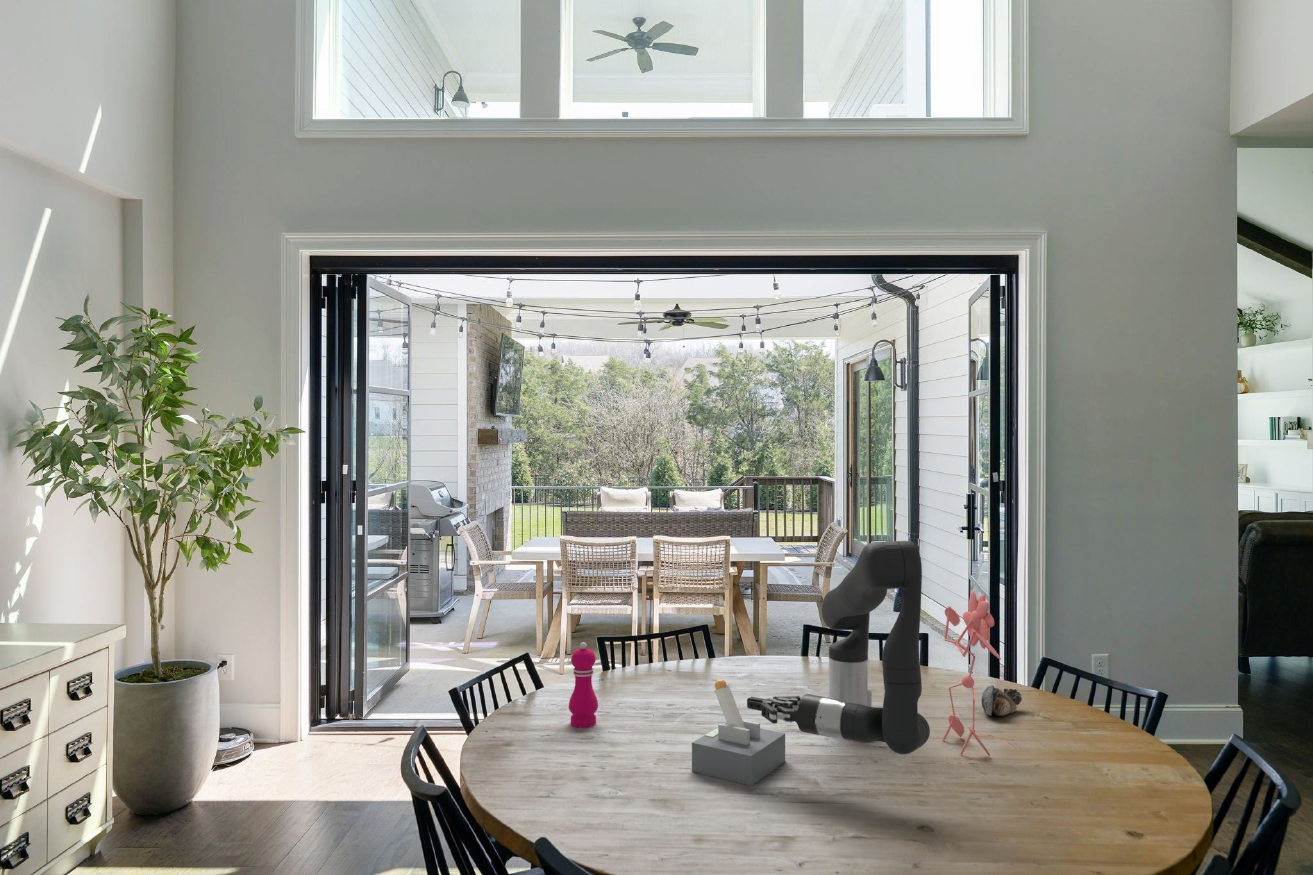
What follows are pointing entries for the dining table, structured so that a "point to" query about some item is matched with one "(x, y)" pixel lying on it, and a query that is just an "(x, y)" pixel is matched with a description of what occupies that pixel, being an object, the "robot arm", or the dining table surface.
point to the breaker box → (738, 752)
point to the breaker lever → (728, 704)
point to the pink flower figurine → (978, 631)
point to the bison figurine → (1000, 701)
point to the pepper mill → (583, 688)
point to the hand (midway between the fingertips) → (748, 702)
